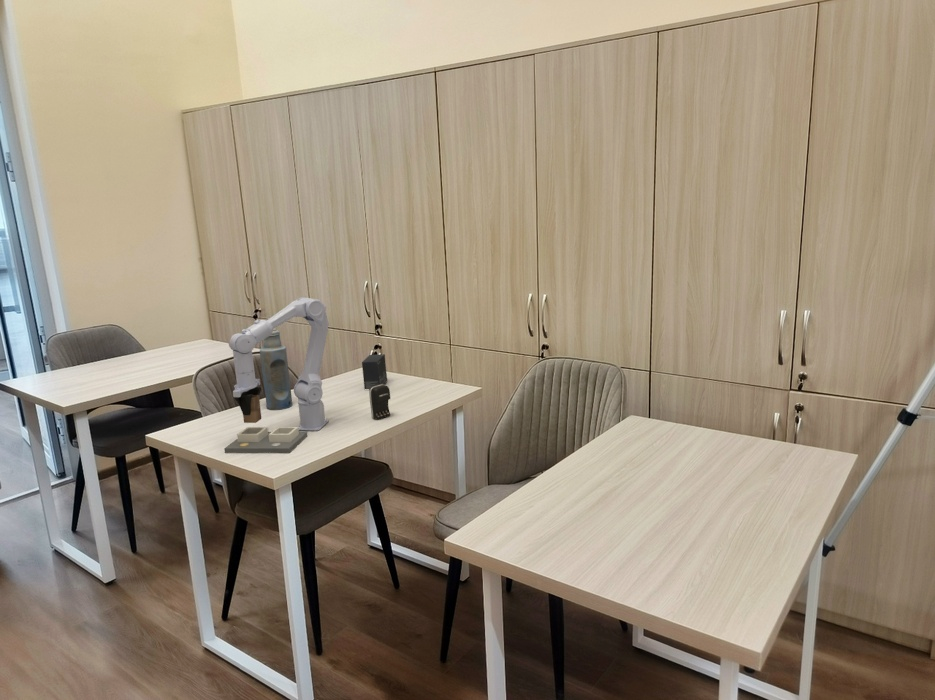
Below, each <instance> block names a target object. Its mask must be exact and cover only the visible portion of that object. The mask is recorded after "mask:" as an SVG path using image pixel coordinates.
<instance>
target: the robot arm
mask: <svg viewBox="0 0 935 700" xmlns="http://www.w3.org/2000/svg"><path fill="white" fill-rule="evenodd" d="M326 311H327V307H326V305H325V304H324V303H323V302H322V300H320V299H318V298H310V297H306V296H301V297H298V298H297V299H296V300H293V301H291V302H290V303H289V304H288V305H287V306H285V307H284V308H282V309H281V310H280V311H278V312H276V313H275V314H274V315H273V316H271V317H269V318H268V319H267V320H265V319H260V320H258V319H256V320H254V321H253V324H252V325H249V327H247V328H246V329H245V328H243V329H242V330H241V332H239V333H235V334H232V335H231V338H230V339H229V342H228V346H229V348H230V349H231V350H232V355H233V365H234V371H235V373H234V374H235V379H236V384H235V385H233V388H234V390H233V391H232V396H233V399H234V400H235V401H236V402H237V404H238V406H239V408H240V411H241V413H242V416H243V415H250V413H251V398H252V395H259V396H260V395H261V392H262V387H261V386H260V385H261V379H260V378H256V374H255V373H256V371H255V366H254V365H255V364H254V357H253V350H254V348H255V346H256V345H258V344H260V343H261V342H262V341H264V339H265V338H267V337H269V336H270V335H271V334H272V332H273V329H274V328H275V329H277V327H279V326H280V325H282V324H285V323H286V322H287V321H289V320H292V319H293V318H295V317H296V318H297V317H298V318H303V319H305V321H306V322H307V323H308V324H309V326H310V327H311V328H310V333H309V338H308V344H307V349H306V354H305V358H304V359H305V360H304V365H303V369H302V373H301V374H300V375H299V376H298V378H297V382H296V383H295V385H294V387H293V394H294V396H295V397H296V398H297V400H298V401H297V403H298V405H297V407H298V414H299V422H300V425H299V426H297V427H298V429H299V431H320V430H322V428H323V427H324V426H325V425H326V424H327V423H328V422H329V420H328V419H327V420H326V413H325V405H324V402H323V400H321V399H322V397H323V389H322V384H323V382H322V379H321V376H320V372H321V368H322V363H323V357H324V351H325V345H326V340H327V335H328V331H329V330H328V329H329V319H328V316H327V312H326Z"/></svg>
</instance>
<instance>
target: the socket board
mask: <svg viewBox="0 0 935 700" xmlns="http://www.w3.org/2000/svg"><path fill="white" fill-rule="evenodd" d="M298 427H299V426H281V427H280V426H278V427H276V428H275V429H274V430H272V431H269V429H268V426H266V427H265V426H264V427H263V426H261V427H260V426H257V427H256V426H255V427H254V426H253V427H251V426H247V427H245V428H244V429H243V430H242V431H240V432H238V433H237V434H236V439H235V440H234V441H233V442H231V443H230V444H228V445H227V446H225V447H224V449H223V450H224V453H225V454H290V453H291V452H292V451H294V450H295V448H296V447H297V445H298V446H299V445H300V444H301V443H302V442H303V441H304V440H305V439H307V437H308V435H309V434H308V431H300V430H299V429H298Z"/></svg>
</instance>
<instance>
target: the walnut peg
mask: <svg viewBox="0 0 935 700" xmlns="http://www.w3.org/2000/svg"><path fill="white" fill-rule="evenodd" d="M242 416H243V417H242V418H243V423H245V424H246V423H247V424H256V423H258V422H259V421H261V419H262V412H261V401H260V395H252V398H251V413H250V415H243V414H242Z"/></svg>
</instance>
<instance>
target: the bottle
mask: <svg viewBox="0 0 935 700" xmlns="http://www.w3.org/2000/svg"><path fill="white" fill-rule="evenodd" d="M280 334H281V333H280V330H278V329H277V328H274V329H273V332H272V334H271V335H270V336H269V337H267V338H265V339H264V340H263V347H260V349H259V356H260V363H261V365H260V366H261V374H262V382H263V386H264V387H263V388H264V396H265V403H266V409H268V410H272V411H278V410H279V409H280V410H284V409H288V408H290V407H291V406H293V399H292V398H293V397H292V389H291V388H292V387H291V380H290V371H289V370H290V369H289V362H288V354H287V346H285V345H283V344H282V341H281V340H282V339H281V336H280Z"/></svg>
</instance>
